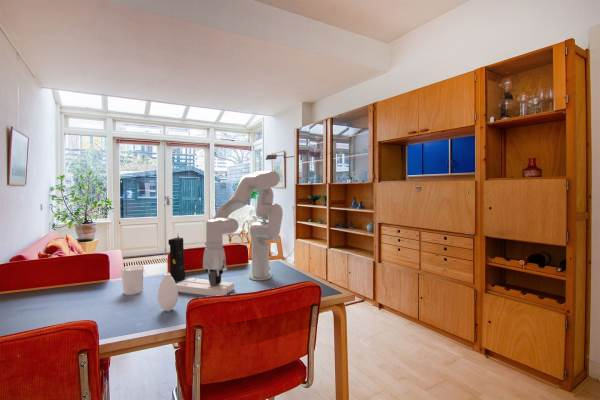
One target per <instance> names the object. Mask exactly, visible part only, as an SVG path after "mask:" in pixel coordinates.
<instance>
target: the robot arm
mask: <svg viewBox="0 0 600 400" xmlns="http://www.w3.org/2000/svg"><path fill="white" fill-rule="evenodd" d="M280 180H281V176H280V173H278V172H277V171H276V170H258V171H255V172H254V173H252V174H246V175H243V176H242V177H241V179H240V180H239V182H238V184H237V186H236V188H235V190H234V192H233V194H232V196H231V197H230V198H229V199H227V200H226V201H225V202H224V203H223V204H222V205H221V206H220V207H219V209H217V211H216V213H215V215H214V216H213V219H207V221H206V223H205V227H206V229H205V230H206V233H205V234H206V235H205V236H206V237H205V238H206V241H205V242H204V245H205V246H206V247H205V248H204V251H203V258H202V269H203V270H204V271H205V272H206V273H207V275H208V280H209V283H210V271H212V270H216V271H217V276H216V284H219V283H220V282H221V281H222V275H223V273H225V272H226V271H228V267H227V264H226V263H227V262H226V252H225V247H224V243H223V240H224V239H223V237H224V235H223V234H234V233H235V232H237V231H238V230H239V223H238V222H239V221H237V220H236V219H235V218H232V217H229V216H230V215H231V214H232V213H233V212H236V211H237V210H240V209H242V208H244V207H245V206H247V205H248V202H249V200H250V199H251V196H252V195H253V192H256V191H257V192H258V199H257V204H256V209H255V215H256V218H258V219H260V220H266V221H268V222H266V221H255V222H253V223H252V224H251V225H250V228H249V235H250V239H251V273H250V274H249V277H248V278H249V279H250V280H252V281H257V282H258V281H266V280H270V279H272V277H273V275H272V274H271V273H270V270H271V266H270V247H269V242H268V241H275V240H277V239H278V238H279V236H280V232H281V227H282V221H283V216H284V214H283V208H282V206H281V205H280V204H279V203H277V202H275V203H274V191H273V189H272V188H274V187H276V186H277V185H279V183H280Z"/></svg>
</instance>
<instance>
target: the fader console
mask: <svg viewBox="0 0 600 400" xmlns="http://www.w3.org/2000/svg"><path fill="white" fill-rule="evenodd" d="M176 285H177V289H178V295H179V294H180V295H187V296H193V295H194V296H193V297H195V296H196V297H202V298H205V297H204V296H216V295H226V294H228V295H230V294H232V293H233V292H235V282H231V281H224V280H221V282H220V284H218V285H217V286H211V285H210V283H209V279H205V278H204V279H202V278H197V277H188V278H186V279H184V280H182V281H178V282H177V283H176ZM232 291H233V292H232Z"/></svg>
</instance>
